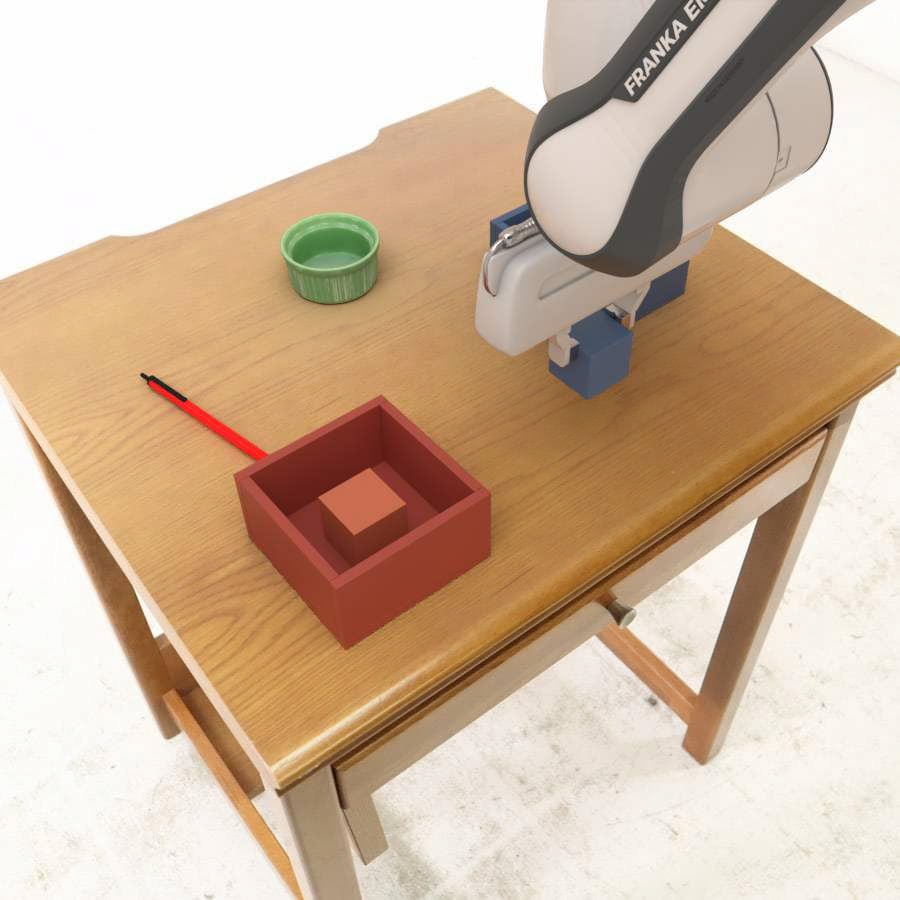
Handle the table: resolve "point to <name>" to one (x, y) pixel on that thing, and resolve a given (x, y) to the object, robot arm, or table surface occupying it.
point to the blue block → (596, 355)
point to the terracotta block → (362, 516)
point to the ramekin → (331, 257)
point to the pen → (204, 417)
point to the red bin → (397, 565)
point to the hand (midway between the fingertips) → (591, 343)
